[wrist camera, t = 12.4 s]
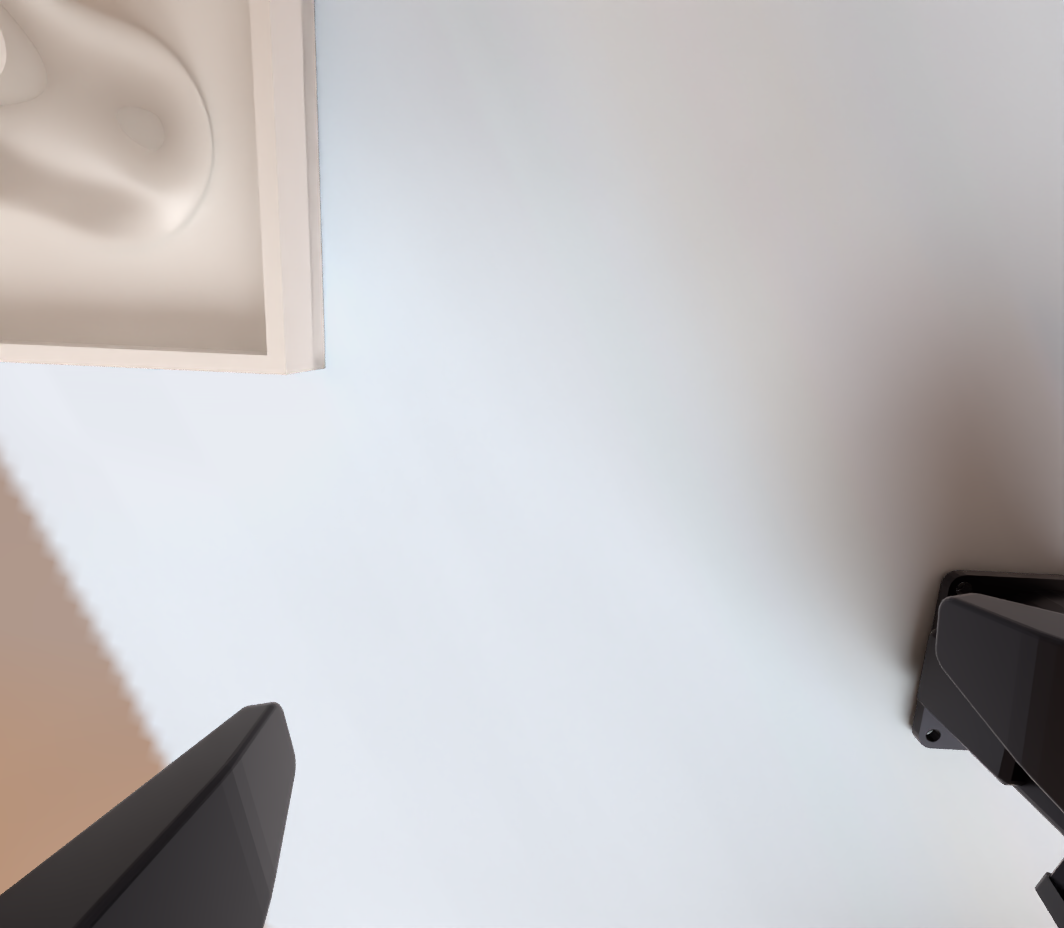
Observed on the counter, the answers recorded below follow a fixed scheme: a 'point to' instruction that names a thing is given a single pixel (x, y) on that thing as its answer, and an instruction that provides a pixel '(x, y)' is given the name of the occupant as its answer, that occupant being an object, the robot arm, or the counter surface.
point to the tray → (197, 220)
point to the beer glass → (97, 126)
